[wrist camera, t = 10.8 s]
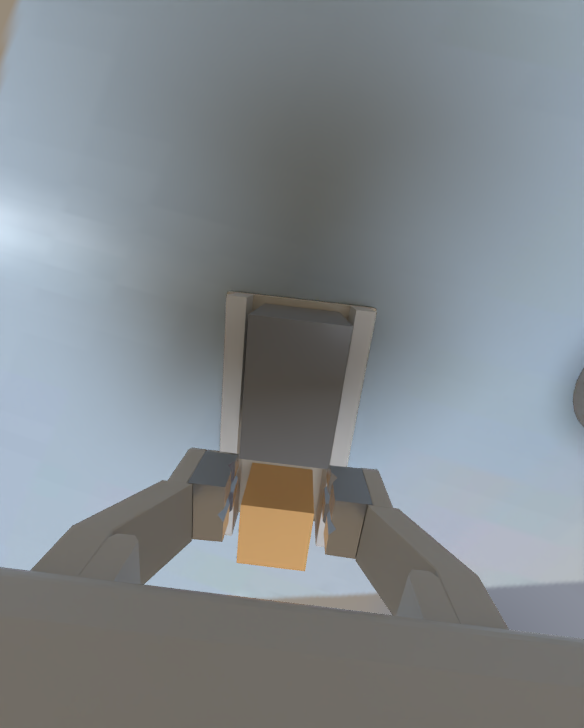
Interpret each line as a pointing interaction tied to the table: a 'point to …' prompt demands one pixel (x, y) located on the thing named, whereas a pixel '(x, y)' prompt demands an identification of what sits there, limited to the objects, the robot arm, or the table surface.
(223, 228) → the table surface
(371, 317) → the rail
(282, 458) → the block
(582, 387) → the mug
